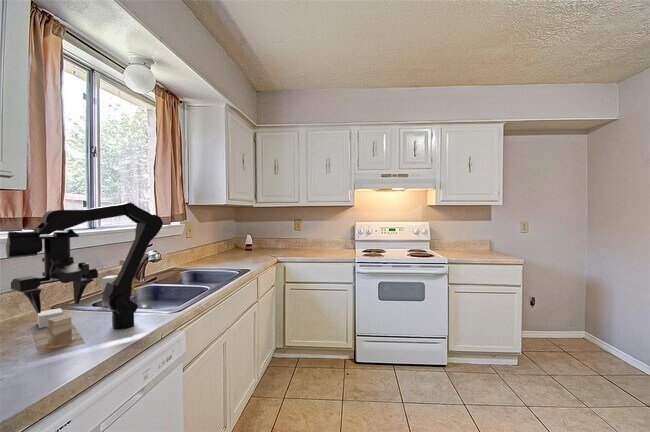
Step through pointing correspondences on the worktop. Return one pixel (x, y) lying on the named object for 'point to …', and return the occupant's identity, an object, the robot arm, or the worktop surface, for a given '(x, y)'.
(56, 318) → the tan rectangular block
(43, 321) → the block
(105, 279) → the skincare box
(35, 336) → the board
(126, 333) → the worktop surface
